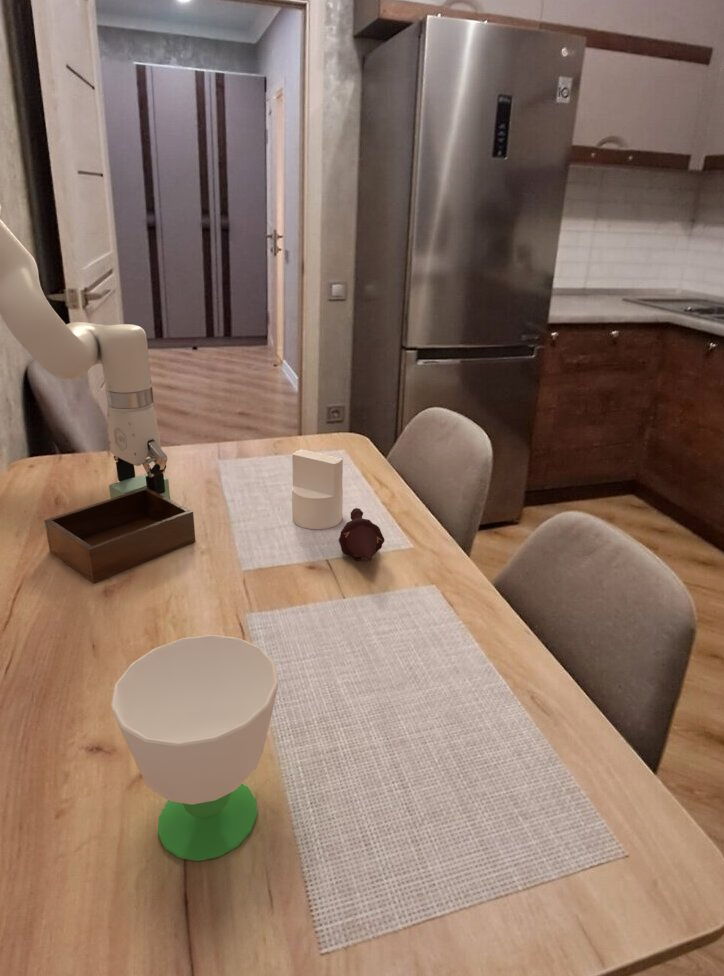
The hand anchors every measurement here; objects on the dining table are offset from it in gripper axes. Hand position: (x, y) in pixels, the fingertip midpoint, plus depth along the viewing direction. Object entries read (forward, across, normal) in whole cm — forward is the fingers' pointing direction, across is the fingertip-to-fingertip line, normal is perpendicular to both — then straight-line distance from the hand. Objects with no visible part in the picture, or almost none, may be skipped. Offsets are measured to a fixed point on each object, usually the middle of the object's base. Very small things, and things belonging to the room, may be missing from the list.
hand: (141, 486), depth 123 cm
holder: (+3, +13, -11) cm, 17 cm away
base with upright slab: (+4, +28, +18) cm, 33 cm away
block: (+3, 0, 0) cm, 3 cm away
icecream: (+4, +43, +13) cm, 45 cm away
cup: (+3, +65, -33) cm, 73 cm away
